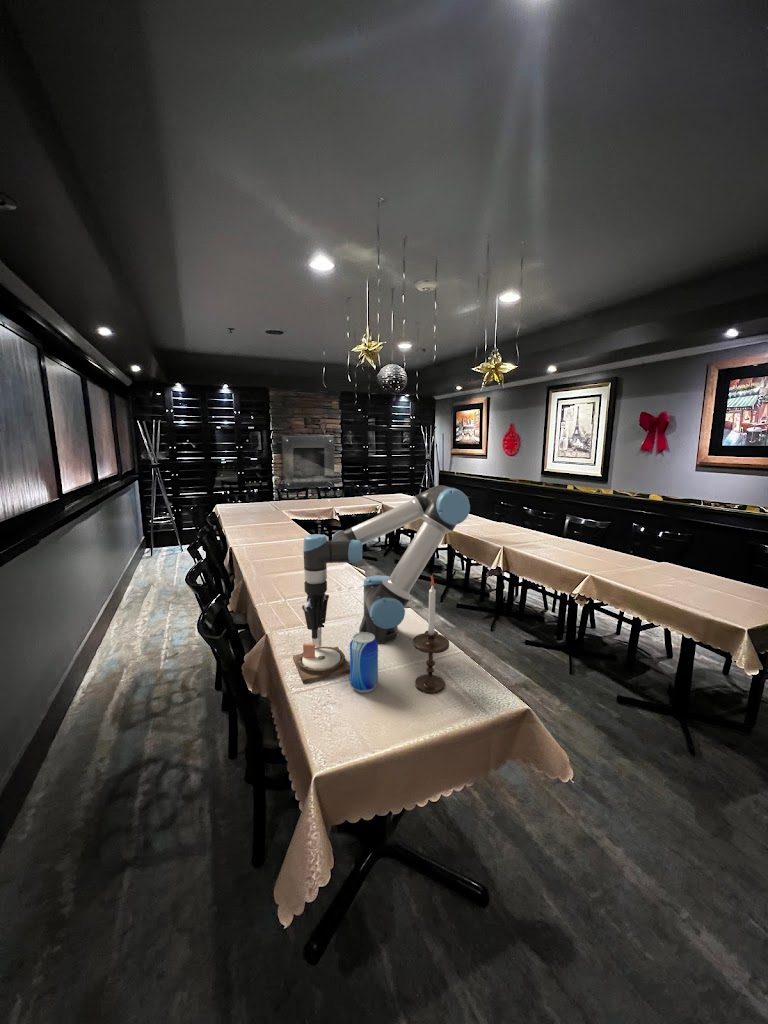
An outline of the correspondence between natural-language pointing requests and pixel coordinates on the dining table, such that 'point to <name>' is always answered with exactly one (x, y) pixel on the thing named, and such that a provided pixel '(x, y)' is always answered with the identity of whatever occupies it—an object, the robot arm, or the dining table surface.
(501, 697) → the dining table surface
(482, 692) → the dining table surface
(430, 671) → the candlestick
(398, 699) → the dining table surface
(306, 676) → the dial housing
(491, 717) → the dining table surface
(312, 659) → the dial
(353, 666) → the beer can
